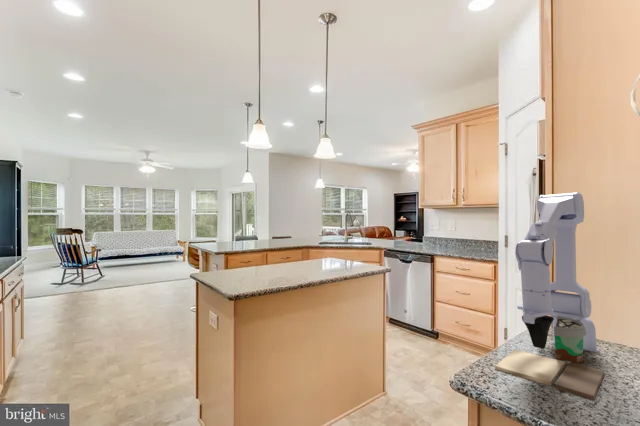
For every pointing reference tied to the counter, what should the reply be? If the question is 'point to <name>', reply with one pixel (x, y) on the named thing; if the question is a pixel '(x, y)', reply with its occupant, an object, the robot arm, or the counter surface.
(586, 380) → the walnut board
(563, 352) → the food container
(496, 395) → the counter surface
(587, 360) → the counter surface
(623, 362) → the counter surface
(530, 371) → the oak plank
